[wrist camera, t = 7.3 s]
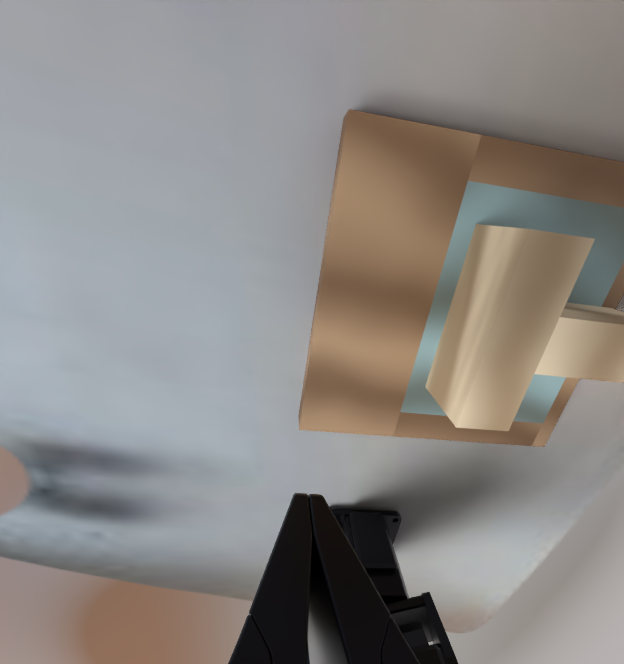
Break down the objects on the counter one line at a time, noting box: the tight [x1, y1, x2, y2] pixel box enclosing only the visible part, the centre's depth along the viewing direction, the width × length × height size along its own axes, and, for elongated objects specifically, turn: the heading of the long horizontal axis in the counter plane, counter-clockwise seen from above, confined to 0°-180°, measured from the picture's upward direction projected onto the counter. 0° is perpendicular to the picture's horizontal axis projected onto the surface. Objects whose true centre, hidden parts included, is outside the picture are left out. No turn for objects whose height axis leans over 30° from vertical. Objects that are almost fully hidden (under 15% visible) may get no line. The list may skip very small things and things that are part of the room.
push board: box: [299, 109, 624, 447], centre depth 19 cm, size 18×18×2 cm
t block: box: [425, 224, 624, 431], centre depth 17 cm, size 10×10×4 cm
